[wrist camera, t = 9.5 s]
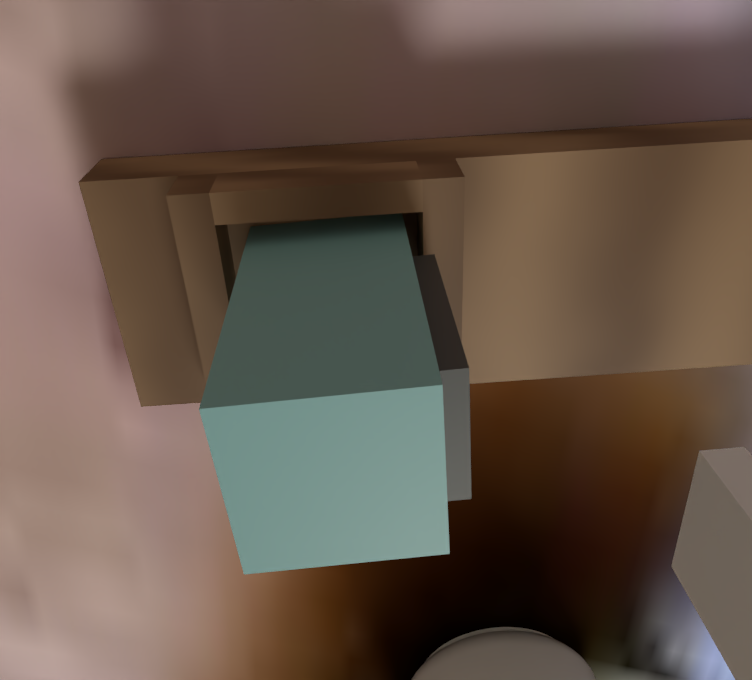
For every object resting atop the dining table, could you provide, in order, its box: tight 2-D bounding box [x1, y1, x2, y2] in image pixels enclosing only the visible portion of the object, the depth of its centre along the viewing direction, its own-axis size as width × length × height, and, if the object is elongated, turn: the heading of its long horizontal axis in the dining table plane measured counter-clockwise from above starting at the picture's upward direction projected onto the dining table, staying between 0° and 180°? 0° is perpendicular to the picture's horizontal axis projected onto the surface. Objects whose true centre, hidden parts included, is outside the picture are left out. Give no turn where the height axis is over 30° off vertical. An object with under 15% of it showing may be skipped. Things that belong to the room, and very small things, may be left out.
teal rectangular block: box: [199, 213, 471, 574], centre depth 16 cm, size 5×4×8 cm
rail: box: [79, 119, 752, 407], centre depth 17 cm, size 28×7×10 cm, turn 93°
